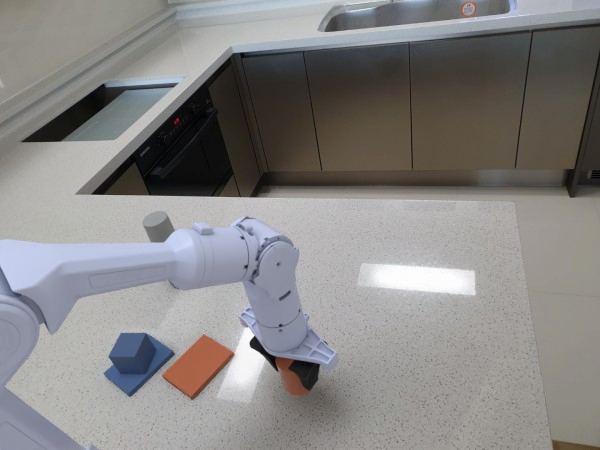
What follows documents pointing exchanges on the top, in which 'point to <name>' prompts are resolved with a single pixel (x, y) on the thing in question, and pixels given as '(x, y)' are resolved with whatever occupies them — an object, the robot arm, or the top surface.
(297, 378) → the terracotta cylinder
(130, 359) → the blue cube
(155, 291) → the top surface
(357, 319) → the top surface
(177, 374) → the terracotta mat
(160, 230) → the container
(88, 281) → the robot arm
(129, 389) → the blue mat
